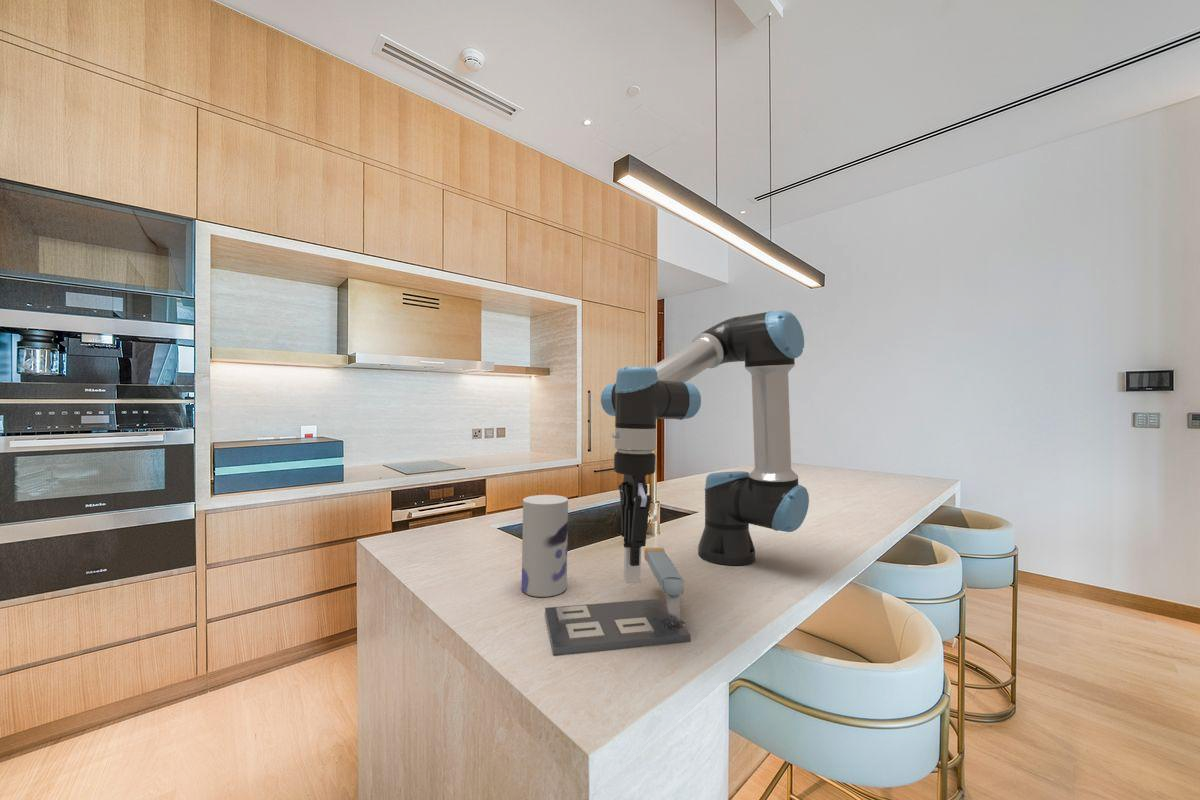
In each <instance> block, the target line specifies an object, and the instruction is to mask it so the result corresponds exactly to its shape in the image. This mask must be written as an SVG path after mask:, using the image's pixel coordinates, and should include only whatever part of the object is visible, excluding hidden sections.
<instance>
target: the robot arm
mask: <svg viewBox="0 0 1200 800" xmlns="http://www.w3.org/2000/svg"><path fill="white" fill-rule="evenodd" d="M804 348H805V335H804V331H803V328H802V326H801V323H800V321H799V320H798V318H797V317H796V315H794V314H793V313H792V312H790V311H788V310H775V311H774V310H772V311H771V310H770V311H764V312H760V313H755V314H749V315H743V316H735V317H731V318H728V319H725V320H723V321H721V322H719V323H717V324H715V325H712V326H711V327H710V328H708V329H706V330H704V331H702V332H701V333H699V334H697V335H696V336H694V338H693V339H692V341H691V343H689V344H687V345H686V346H684V347H682V348H681V349H679V350H678V351H676V352H674V353H672V354H671V355H669V356H667V357H666V358H665V357H664V359H661V361H659V362H657V363H655V364H654V365H652V366H640V365H639V366H634V365H633V366H623V367H620V368H619V369H618V370H617V372H616V377H615V378H616V379H615V382H613V383H609V384H607V385H606V386H605V387H604V388H603V390H602V391H601V394H600V403H601V408H602V410H603V411H604V413H606V414H607V415H609V416H611V417H615V421H614V424H615V425H614V431H615V432H613V433H612V434H611V437H612V438H613V439H614V448H615V450H617V451H616V452H615V453H614V454H613V458H614V460H613V462H614V463H613V471H614V472H615V473H616V474H619V475H623V479H622V480H623V481H622V482H621V483H620V484H619V485H618V491H619V498H620V501H619V502H620V523H621V524H620V525H621V527H620V528H621V529H620V530H621V533H620V534H621V537H622V538H623V548H624V554H623V555H624V558H623V559H624V561H623V562H624V563H623V581H624V583H625V584H635V583H636V584H637V583H641V573H642V569H641V568H642V567H641V566H642V548H643V547H646V543H647V542H646V541H647V534H648V533H647V532H648V521H649V513H650V506H651V503H652V495H650V494H649V495H648V490H649V489H648V484H647V482H646V476H648V475H649V476H650V475H653V474H654V473H655V472H656V454H655V453H654V452H653V451H656V450H657V420H658V419H659V420H660V419H661V420H662V419H663V420H679V421H682V420H686V419H688V420H689V419H691V418H693V417H695V416H696V415H697V414H698V413H699V410H700V409H701V405H702V396H701V392H700V390H699V389H698V387H697V386H695V385H694V384H693V383H691V382H690V383H689V382H688V381H690V380H691V379H693V378H694V377H696V376H698V375H699V374H701V373H702V372H703V371H705V370H707V369H715V368H717V367H719V366H720V365H722V364H727V363H728V364H729V363H735V362H737V363H738V362H744V369H745V370H747V372H748V373H750V376H751V397H752V401H751V402H752V422H753V423H752V424H753V425H752V427H753V449H754V450H753V454H754V469H753V470H752V471H751V472H749V471H741V470H740V471H738V470H737V471H734V470H733V471H722V472H721V471H720V472H714V473H713V472H712V473H709V474H708V475H707V476H706V478H705V486H704V487H705V488H704V528H703V531H702V534H701V537H700V540H699V543H698V547H697V550H698V551H697V553H698V554H697V555H698V557H700V558H701V559H702V560H705V561H707V562H710V563H713V564H718V565H724V566H725V565H727V566H744V565H745V566H746V565H750V564H752V563H754V562H755V561H756V549H755V546H754V545H755V544H754V542H753V539H752V536H751V533H750V527H749V526H750V525H754V526H759V527H761V528H767V529H770V530H773V531H777V532H778V531H781V532H787V533H793V532H795V531H796V530H798V529H799V528H800V527H801V526H802V525H803V523H804V522H805V519H806V516H807V514H808V510H809V505H810V497H809V496H810V494H809V492H808V489H807V488H806V487H805V486H803V485H802V484H799V475H798V474H797V473H796V472H795V471H794V470H793V469H792V452H791V451H792V450H791V449H792V448H791V423H790V422H791V420H790V419H791V417H790V389H789V387H790V385H789V384H790V383H789V373H790V371H791V370H792V369H793V368H794V367H795V359H798V358H799V357H801V355H802V354H803V351H804Z"/></svg>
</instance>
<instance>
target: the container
mask: <svg viewBox="0 0 1200 800" xmlns="http://www.w3.org/2000/svg"><path fill="white" fill-rule="evenodd" d="M568 519H569V498H568V497H567V496H562V495H556V494H539V495H538V494H537V495H529V496H526V497H524V498H523V499H522V539H521V541H522V543H521V544H522V546H521V547H522V549H521V550H522V551H521V555H522V556H521V591H522V592H523V593H524V594H526V595H528V596H531V597H532V596H533V597H536V598H537V597H539V598H546V597H553V596H558V595H560V594H562V593H563V592H565V591H566V590H567V587H568V584H567V583H568V534H569V533H568V531H569V530H568V529H569V528H568V525H569V523H568V522H569V521H568Z"/></svg>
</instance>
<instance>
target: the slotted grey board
mask: <svg viewBox="0 0 1200 800" xmlns="http://www.w3.org/2000/svg"><path fill="white" fill-rule="evenodd" d="M544 616H545V620H546V621H545V622H546V626H547V631H548V637H549V641H550V645H551V650H552V654H553V656H560V655H568V654H580V653H589V652H591V653H592V652H599V651H600V652H602V651H608V650H620V649H628V648H629V649H630V648H638V647H639V648H640V647H648V646H658V645H660V646H661V645H668V644H680V643H687V642H689V643H690V642H691V640H692V639H691V637H692V636H691V633H690V632H689V631H688V629H687V628H686V626H685V627H684V626H683V625H680V624H682V623H681V622H680V624H679V627H677V626H676V627H675V628H674V626H673V627H671V628H668V624H667V623H666V618H667V603H665V601H664V600H663V598H653V599H652V598H651V599H650V598H649V599H641V600H640V599H639V600H628V601H627V600H624V601H615V602H614V601H613V602H611V601H610V602H601V603H587V604H575V605H562V606H551V607H550V606H549V607H544ZM663 620H664V621H663ZM662 621H663V622H662ZM661 622H662V623H661ZM663 624H665V626H667V627H665V626H664V625H663ZM680 626H681V627H680ZM669 627H670V625H669ZM682 627H683V628H682ZM672 628H673V629H672ZM676 628H678V629H676ZM679 628H680V629H679Z"/></svg>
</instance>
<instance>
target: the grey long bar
mask: <svg viewBox="0 0 1200 800" xmlns="http://www.w3.org/2000/svg"><path fill="white" fill-rule="evenodd" d="M643 548H644V555H643V556H644V560H645V561H646V562H647V564H648V566H649V568H650V570H651V572H652V574H653V576H654V578H655V579H656V582H657V583H658V585H659V587H660V589H661V591H663V593H664V594H666V595H667V594H668V595H674V596H677V595H680V596H681V595H683V594H684V583H685V582H684V578H683V576H682V575H681V573H680V571H679V570H678V569H677V567H676V566H675V564H674V563H673V562H672V560H671V559H670V557H669V556H668V554H667V553H666V550H665V549H664V548H663V547H643Z"/></svg>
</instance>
